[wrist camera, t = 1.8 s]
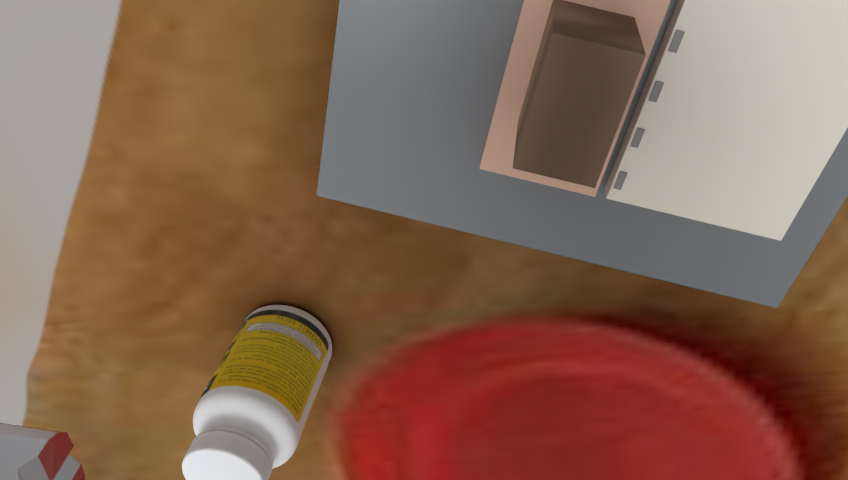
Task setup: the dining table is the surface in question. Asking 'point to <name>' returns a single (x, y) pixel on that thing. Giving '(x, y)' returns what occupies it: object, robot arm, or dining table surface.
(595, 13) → the brown and pink block
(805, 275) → the dining table surface
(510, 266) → the dining table surface
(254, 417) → the supplement bottle
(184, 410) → the dining table surface
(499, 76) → the board
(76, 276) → the dining table surface
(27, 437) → the robot arm
